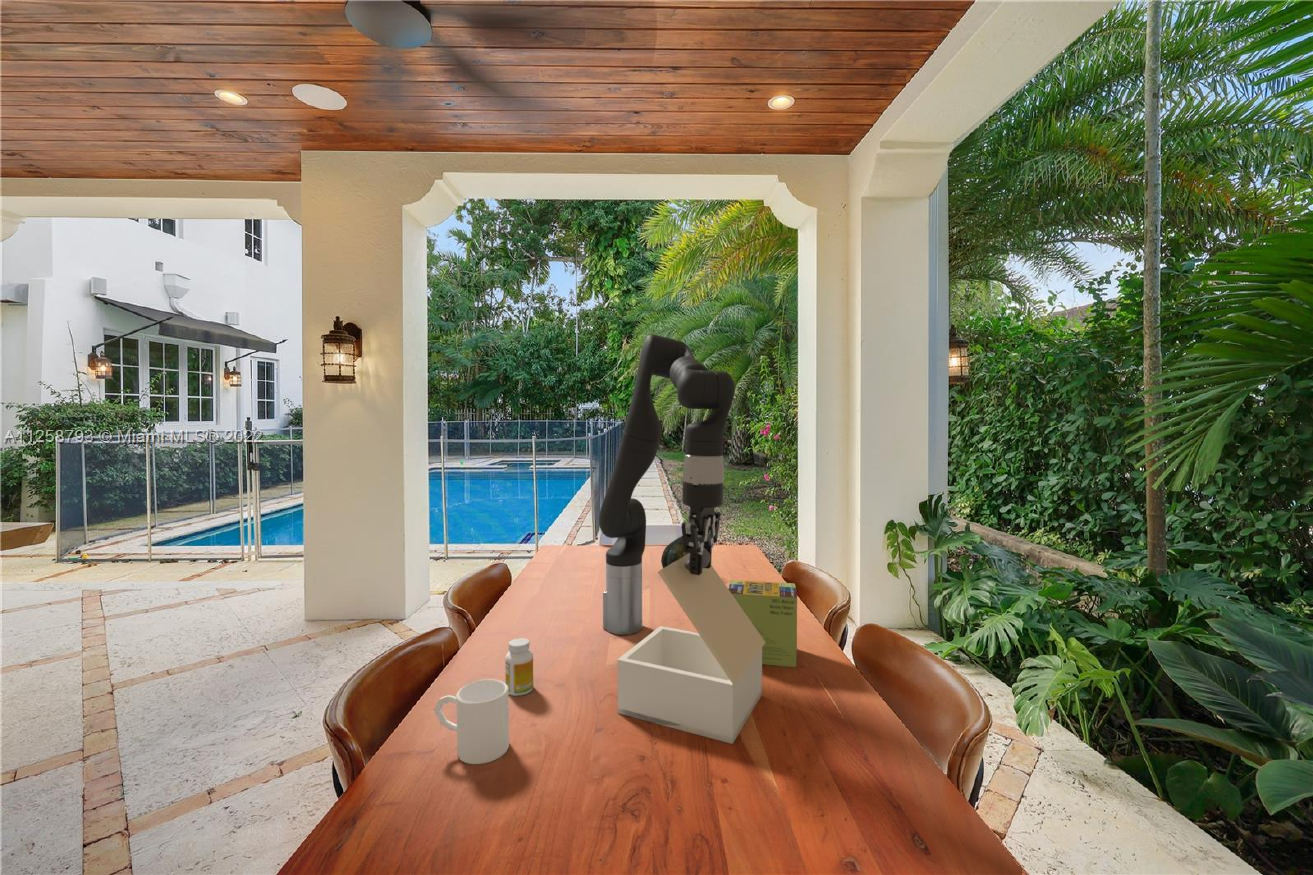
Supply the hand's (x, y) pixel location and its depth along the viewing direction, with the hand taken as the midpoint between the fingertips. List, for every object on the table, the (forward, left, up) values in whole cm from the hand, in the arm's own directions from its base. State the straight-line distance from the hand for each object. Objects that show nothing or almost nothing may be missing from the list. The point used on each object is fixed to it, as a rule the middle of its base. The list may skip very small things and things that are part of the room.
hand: (700, 570), depth 103 cm
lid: (+2, 0, -7) cm, 8 cm away
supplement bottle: (-35, -10, -26) cm, 44 cm away
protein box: (+4, +27, -26) cm, 38 cm away
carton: (-2, 0, -26) cm, 26 cm away
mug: (-29, -29, -26) cm, 48 cm away
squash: (-37, +76, -26) cm, 88 cm away
